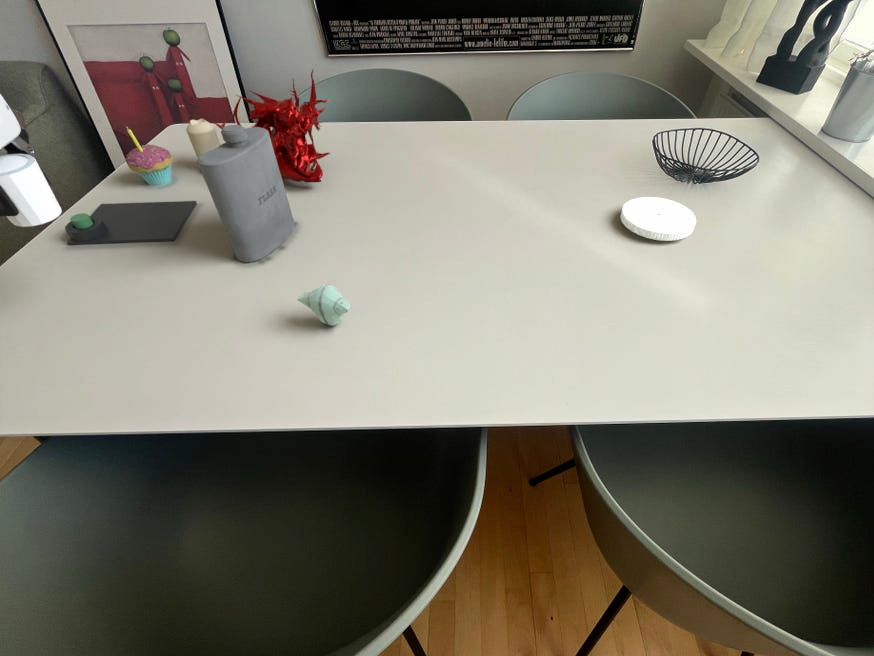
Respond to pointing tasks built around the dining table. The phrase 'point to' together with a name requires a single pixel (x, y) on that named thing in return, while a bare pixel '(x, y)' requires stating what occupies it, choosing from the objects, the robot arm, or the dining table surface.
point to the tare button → (81, 221)
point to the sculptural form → (289, 133)
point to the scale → (133, 223)
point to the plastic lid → (658, 218)
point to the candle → (202, 136)
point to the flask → (248, 192)
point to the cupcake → (150, 162)
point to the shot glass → (27, 190)
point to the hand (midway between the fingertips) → (22, 199)
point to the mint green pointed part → (326, 304)
